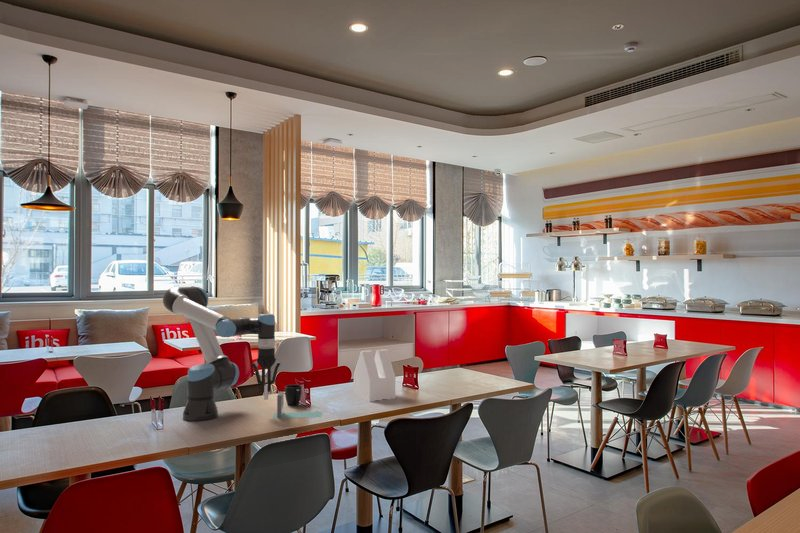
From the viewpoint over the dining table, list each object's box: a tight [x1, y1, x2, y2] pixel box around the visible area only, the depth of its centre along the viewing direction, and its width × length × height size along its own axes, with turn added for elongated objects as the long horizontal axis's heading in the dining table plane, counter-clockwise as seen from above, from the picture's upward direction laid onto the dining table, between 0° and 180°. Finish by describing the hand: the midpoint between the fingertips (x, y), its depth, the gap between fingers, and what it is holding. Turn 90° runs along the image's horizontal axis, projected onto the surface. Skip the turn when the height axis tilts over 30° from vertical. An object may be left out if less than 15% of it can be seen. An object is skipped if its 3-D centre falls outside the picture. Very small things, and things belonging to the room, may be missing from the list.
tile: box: [276, 391, 285, 419], centre depth 253 cm, size 2×9×10 cm, turn 6°
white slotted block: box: [352, 348, 396, 402], centre depth 297 cm, size 19×15×25 cm
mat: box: [272, 411, 323, 419], centre depth 254 cm, size 22×10×1 cm, turn 97°
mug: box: [284, 384, 303, 407], centre depth 274 cm, size 8×12×10 cm
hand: (266, 399), depth 253 cm, fingers closed
